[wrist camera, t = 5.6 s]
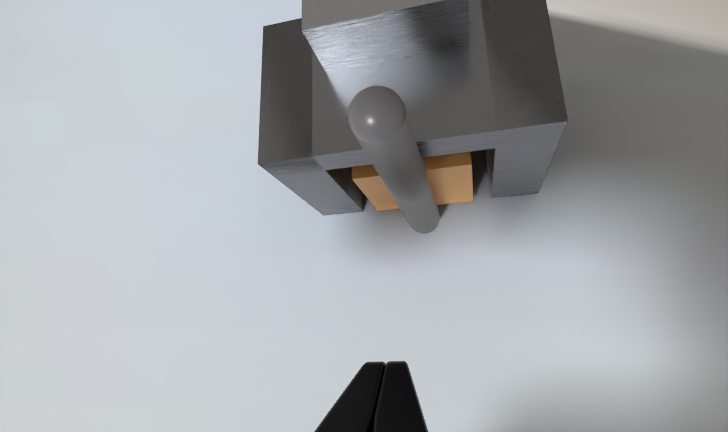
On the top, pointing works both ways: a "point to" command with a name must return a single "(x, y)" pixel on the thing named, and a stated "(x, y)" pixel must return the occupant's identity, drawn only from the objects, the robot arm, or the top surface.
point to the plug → (403, 162)
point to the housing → (410, 90)
